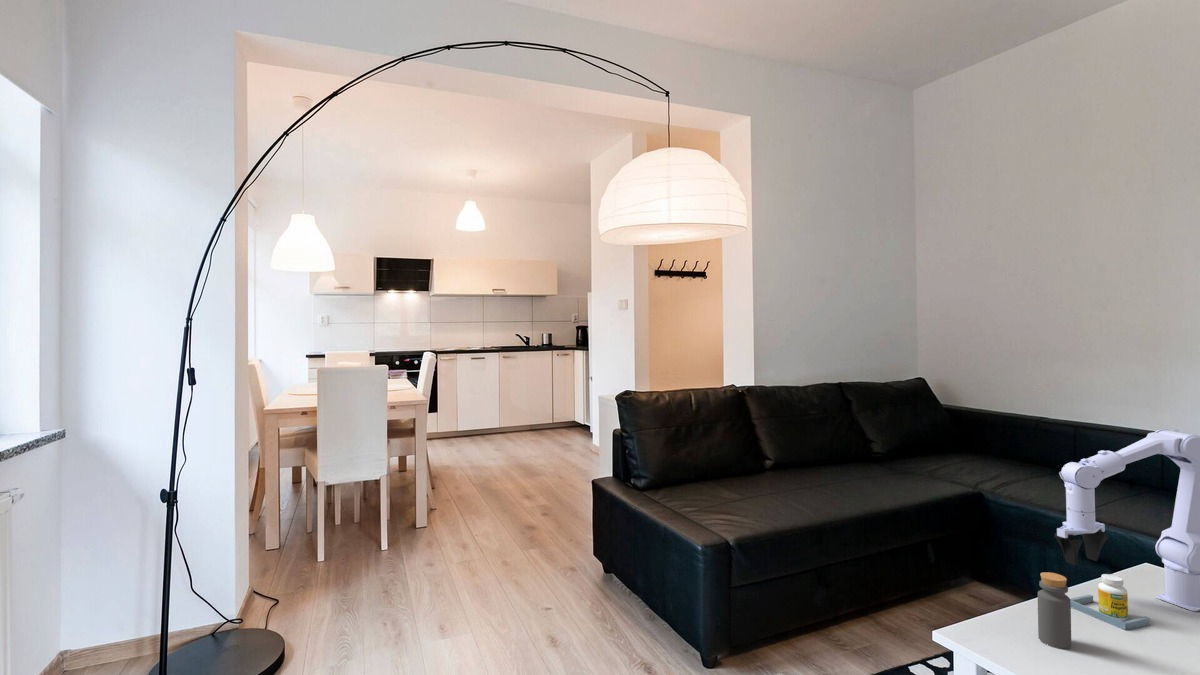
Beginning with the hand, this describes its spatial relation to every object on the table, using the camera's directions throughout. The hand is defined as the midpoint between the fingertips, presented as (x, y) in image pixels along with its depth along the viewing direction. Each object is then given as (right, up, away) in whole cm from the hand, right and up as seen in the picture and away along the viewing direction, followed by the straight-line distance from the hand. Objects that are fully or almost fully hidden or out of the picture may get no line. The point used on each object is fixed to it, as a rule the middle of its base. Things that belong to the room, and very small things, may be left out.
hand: (1081, 561), depth 146 cm
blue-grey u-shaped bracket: (0, -10, -7) cm, 13 cm away
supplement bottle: (+1, -11, -8) cm, 13 cm away
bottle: (-23, -11, -19) cm, 32 cm away
